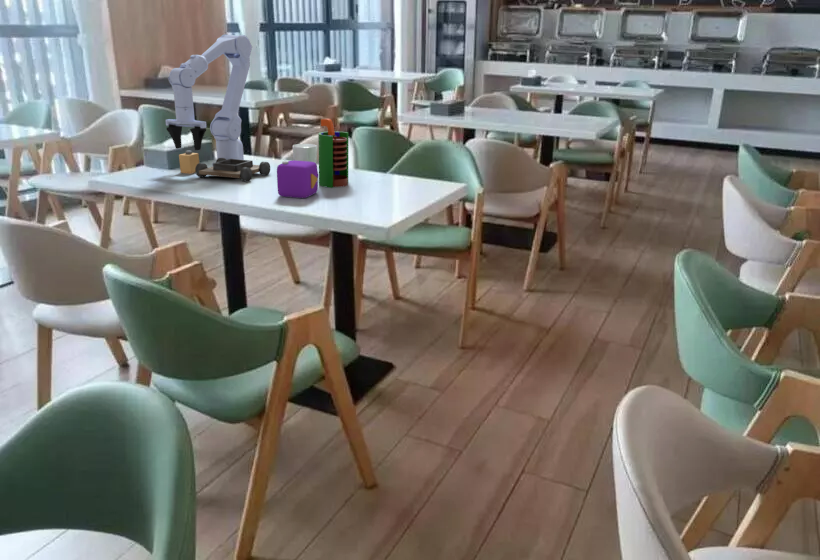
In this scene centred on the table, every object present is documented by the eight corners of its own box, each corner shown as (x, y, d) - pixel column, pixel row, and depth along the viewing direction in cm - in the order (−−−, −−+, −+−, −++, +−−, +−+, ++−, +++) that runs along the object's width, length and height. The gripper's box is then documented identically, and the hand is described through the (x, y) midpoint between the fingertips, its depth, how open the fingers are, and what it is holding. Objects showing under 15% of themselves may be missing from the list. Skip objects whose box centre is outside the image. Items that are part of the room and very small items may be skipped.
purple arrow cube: (323, 189, 205) (322, 156, 202) (312, 200, 193) (311, 164, 189) (288, 188, 206) (286, 155, 203) (275, 198, 193) (273, 163, 190)
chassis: (224, 169, 232) (223, 156, 230) (271, 174, 226) (270, 160, 224) (195, 178, 218) (194, 163, 216) (244, 183, 212) (243, 168, 210)
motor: (342, 188, 207) (341, 121, 200) (314, 186, 209) (312, 120, 202) (351, 182, 216) (351, 117, 210) (324, 180, 218) (323, 116, 211)
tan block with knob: (190, 170, 230) (188, 149, 228) (200, 171, 229) (198, 150, 226) (180, 172, 226) (178, 151, 223) (190, 173, 224) (188, 152, 222)
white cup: (288, 176, 223) (287, 146, 219) (303, 172, 229) (302, 142, 226) (308, 179, 219) (307, 148, 216) (322, 175, 226) (321, 145, 222)
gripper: (157, 106, 219) (162, 149, 223) (195, 109, 214) (199, 152, 219) (171, 104, 225) (175, 146, 230) (208, 107, 220) (212, 149, 225)
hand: (188, 149), depth 225 cm, fingers open, 7 cm apart
